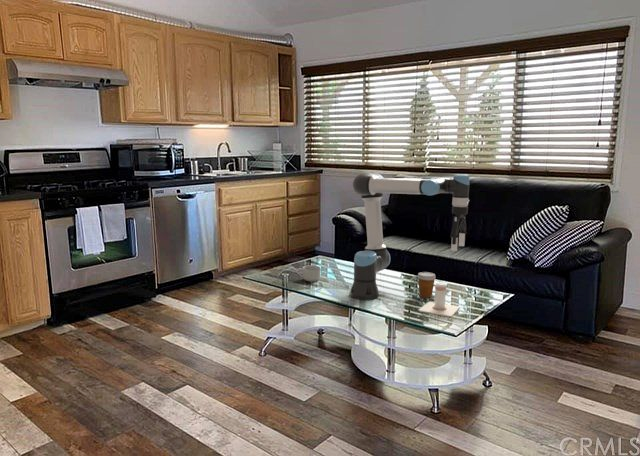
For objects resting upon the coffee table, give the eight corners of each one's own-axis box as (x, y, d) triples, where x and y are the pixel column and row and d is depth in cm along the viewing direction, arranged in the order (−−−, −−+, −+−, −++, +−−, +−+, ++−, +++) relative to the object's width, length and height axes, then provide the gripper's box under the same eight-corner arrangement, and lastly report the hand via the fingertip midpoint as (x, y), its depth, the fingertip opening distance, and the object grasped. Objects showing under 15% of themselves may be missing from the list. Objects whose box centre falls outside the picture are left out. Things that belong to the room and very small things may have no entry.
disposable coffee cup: (417, 298, 259) (418, 276, 257) (416, 292, 268) (417, 271, 266) (435, 299, 258) (436, 276, 256) (433, 293, 267) (435, 272, 265)
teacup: (320, 278, 296) (320, 265, 295) (320, 283, 286) (320, 269, 284) (297, 277, 297) (297, 264, 295) (296, 282, 286) (296, 269, 285)
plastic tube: (432, 308, 240) (434, 284, 238) (436, 305, 244) (437, 282, 242) (443, 310, 238) (444, 286, 236) (446, 307, 242) (447, 284, 240)
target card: (418, 311, 238) (418, 309, 238) (428, 302, 252) (428, 301, 252) (451, 317, 230) (451, 315, 230) (460, 307, 244) (460, 306, 244)
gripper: (461, 209, 229) (458, 253, 233) (474, 204, 250) (471, 244, 254) (445, 208, 233) (443, 251, 236) (459, 203, 254) (457, 243, 258)
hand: (457, 248), depth 245 cm, fingers open, 13 cm apart
